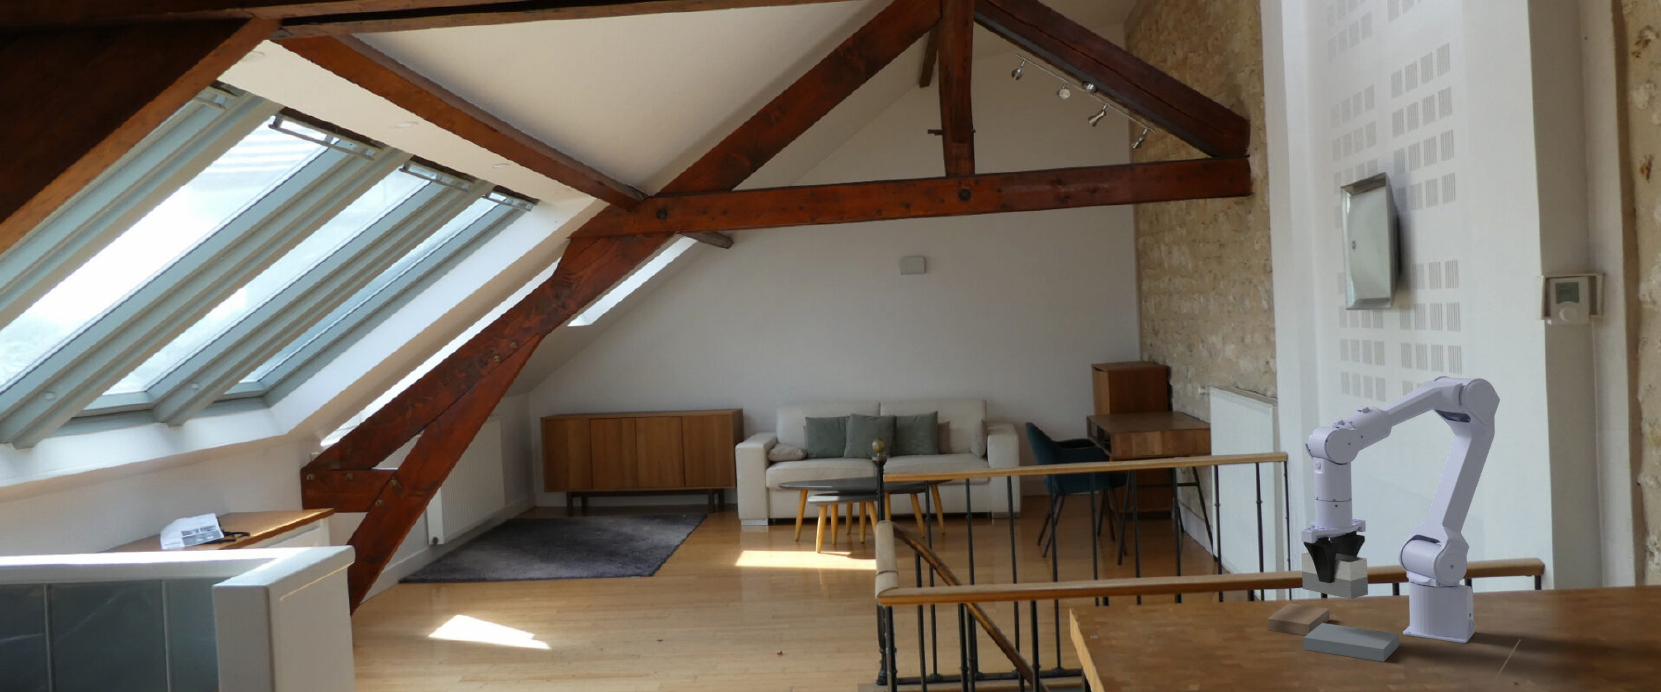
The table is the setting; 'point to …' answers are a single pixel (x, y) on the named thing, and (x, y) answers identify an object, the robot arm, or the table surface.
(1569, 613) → the table surface
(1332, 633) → the stand
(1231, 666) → the table surface
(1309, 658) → the table surface
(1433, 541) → the robot arm
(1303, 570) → the block
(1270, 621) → the stand
